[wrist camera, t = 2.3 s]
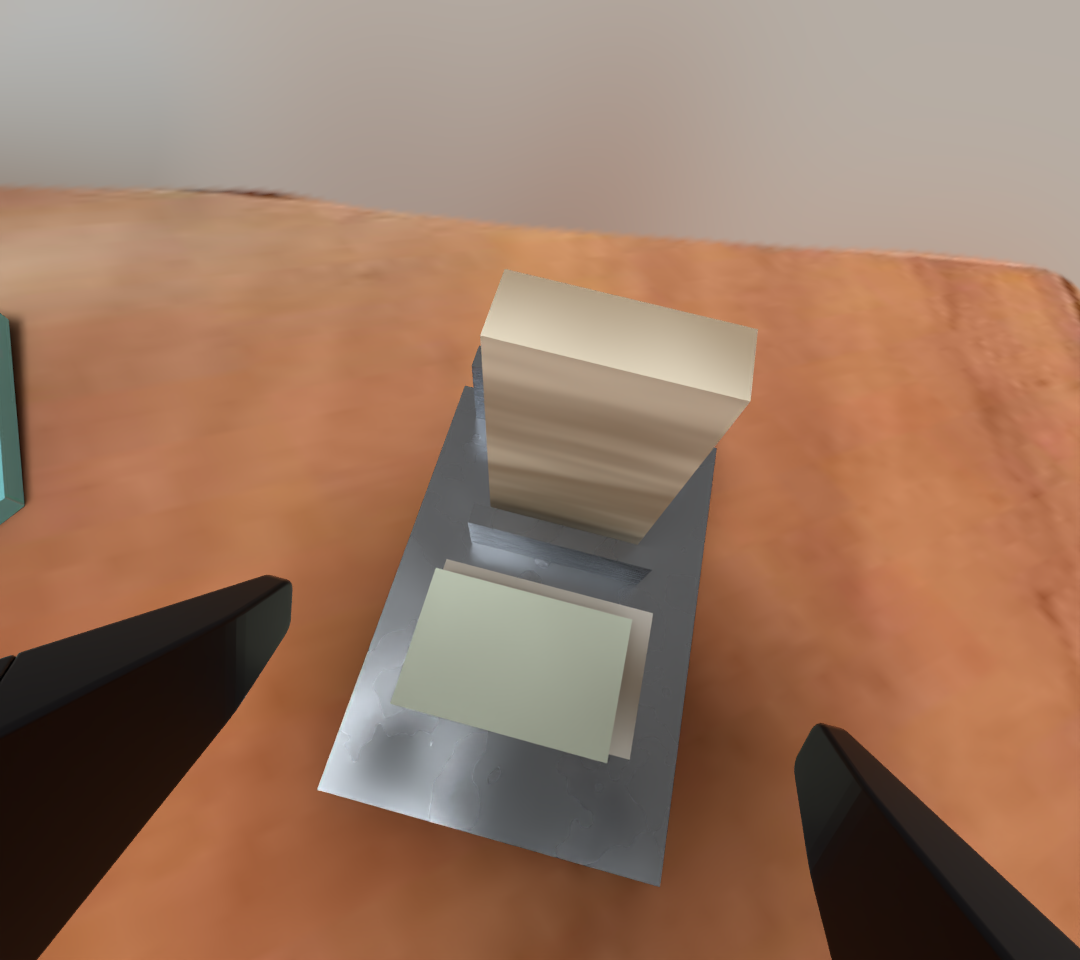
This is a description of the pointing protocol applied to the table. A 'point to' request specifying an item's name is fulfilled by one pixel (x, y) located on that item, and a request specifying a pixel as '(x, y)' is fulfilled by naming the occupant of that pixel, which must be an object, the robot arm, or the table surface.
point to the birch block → (603, 402)
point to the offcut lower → (640, 618)
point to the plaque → (8, 432)
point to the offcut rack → (505, 762)
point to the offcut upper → (516, 664)
